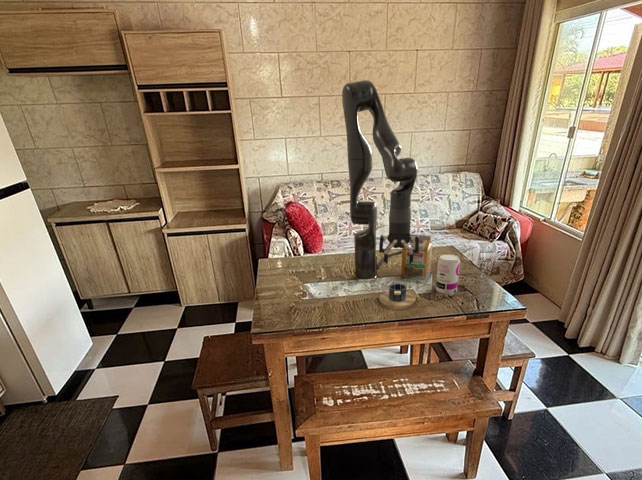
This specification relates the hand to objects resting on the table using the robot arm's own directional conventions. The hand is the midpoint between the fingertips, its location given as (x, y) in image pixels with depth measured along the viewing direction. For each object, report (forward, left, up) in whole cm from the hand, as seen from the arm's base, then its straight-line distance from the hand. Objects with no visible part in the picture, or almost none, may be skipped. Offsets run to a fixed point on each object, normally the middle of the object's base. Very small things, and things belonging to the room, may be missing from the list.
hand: (398, 263), depth 151 cm
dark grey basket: (0, 0, -14) cm, 14 cm away
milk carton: (-26, -6, -16) cm, 31 cm away
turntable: (0, 0, -16) cm, 16 cm away
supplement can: (-18, +12, -16) cm, 27 cm away
